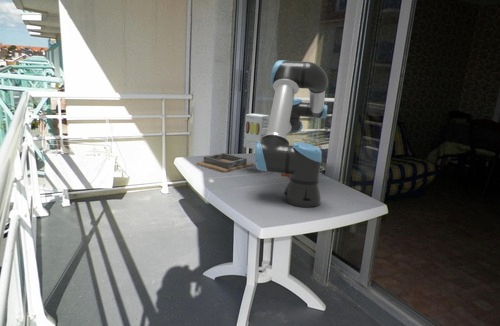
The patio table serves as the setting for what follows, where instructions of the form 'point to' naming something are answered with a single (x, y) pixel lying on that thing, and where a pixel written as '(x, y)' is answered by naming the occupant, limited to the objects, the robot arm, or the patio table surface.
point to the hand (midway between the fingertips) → (253, 129)
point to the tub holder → (224, 162)
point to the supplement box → (254, 129)
